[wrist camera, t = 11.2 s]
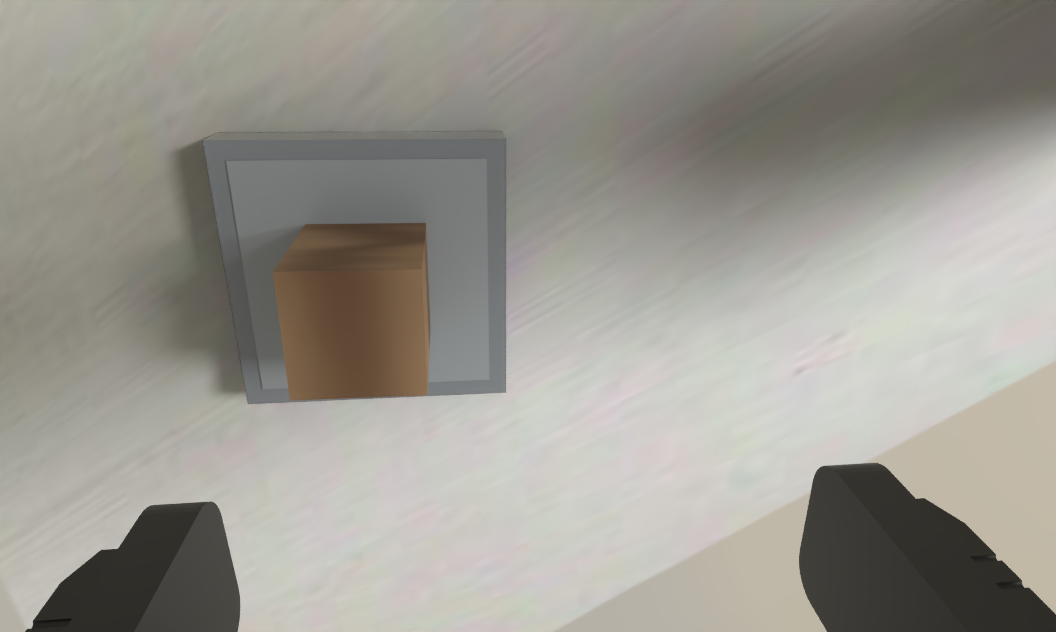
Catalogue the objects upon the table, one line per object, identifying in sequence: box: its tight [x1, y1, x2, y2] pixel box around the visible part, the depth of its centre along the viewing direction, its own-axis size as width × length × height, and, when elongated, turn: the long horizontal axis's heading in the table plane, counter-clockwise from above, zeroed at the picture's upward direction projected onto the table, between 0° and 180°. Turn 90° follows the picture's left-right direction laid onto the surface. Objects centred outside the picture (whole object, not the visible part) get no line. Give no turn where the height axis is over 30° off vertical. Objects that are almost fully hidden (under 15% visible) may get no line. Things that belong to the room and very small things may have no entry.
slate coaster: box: [202, 131, 506, 404], centre depth 31 cm, size 12×12×2 cm
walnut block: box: [273, 223, 431, 401], centre depth 27 cm, size 5×5×6 cm
